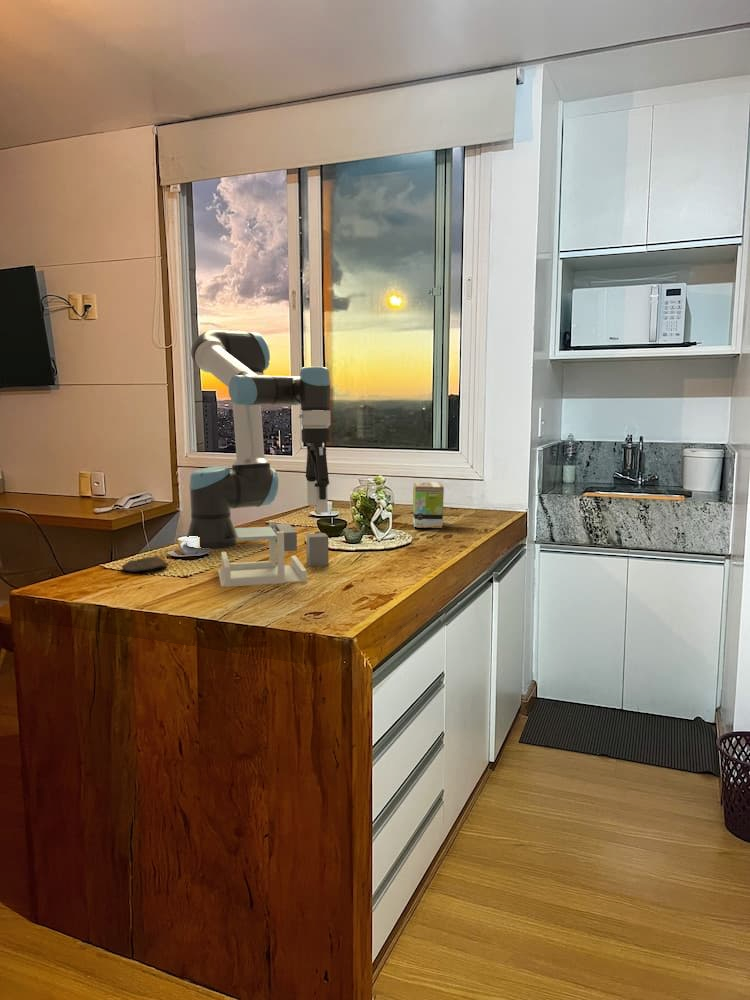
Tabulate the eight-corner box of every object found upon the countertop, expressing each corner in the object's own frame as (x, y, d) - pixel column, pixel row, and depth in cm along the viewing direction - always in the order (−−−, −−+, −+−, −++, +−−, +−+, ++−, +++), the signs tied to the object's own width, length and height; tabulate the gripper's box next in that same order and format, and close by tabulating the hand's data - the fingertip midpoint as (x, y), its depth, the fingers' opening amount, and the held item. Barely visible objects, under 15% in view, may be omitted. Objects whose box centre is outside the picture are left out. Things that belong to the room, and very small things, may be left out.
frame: (217, 571, 185) (216, 523, 183) (295, 566, 190) (295, 519, 188) (221, 588, 168) (219, 535, 166) (306, 582, 173) (306, 531, 171)
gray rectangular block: (306, 563, 194) (306, 533, 193) (324, 562, 195) (324, 533, 194) (309, 567, 189) (309, 537, 188) (328, 566, 191) (328, 536, 190)
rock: (129, 574, 178) (128, 564, 178) (117, 569, 188) (116, 559, 188) (173, 568, 184) (172, 557, 184) (160, 563, 194) (159, 553, 194)
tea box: (443, 529, 245) (444, 486, 243) (413, 529, 245) (414, 486, 243) (440, 522, 260) (440, 481, 258) (412, 522, 260) (412, 481, 258)
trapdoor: (235, 543, 183) (234, 525, 182) (289, 540, 186) (288, 523, 185) (239, 553, 170) (238, 534, 170) (296, 550, 174) (296, 532, 173)
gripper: (294, 426, 198) (295, 503, 201) (309, 428, 175) (311, 515, 177) (321, 426, 200) (322, 502, 203) (340, 428, 176) (341, 514, 179)
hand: (317, 508), depth 190 cm, fingers open, 13 cm apart
